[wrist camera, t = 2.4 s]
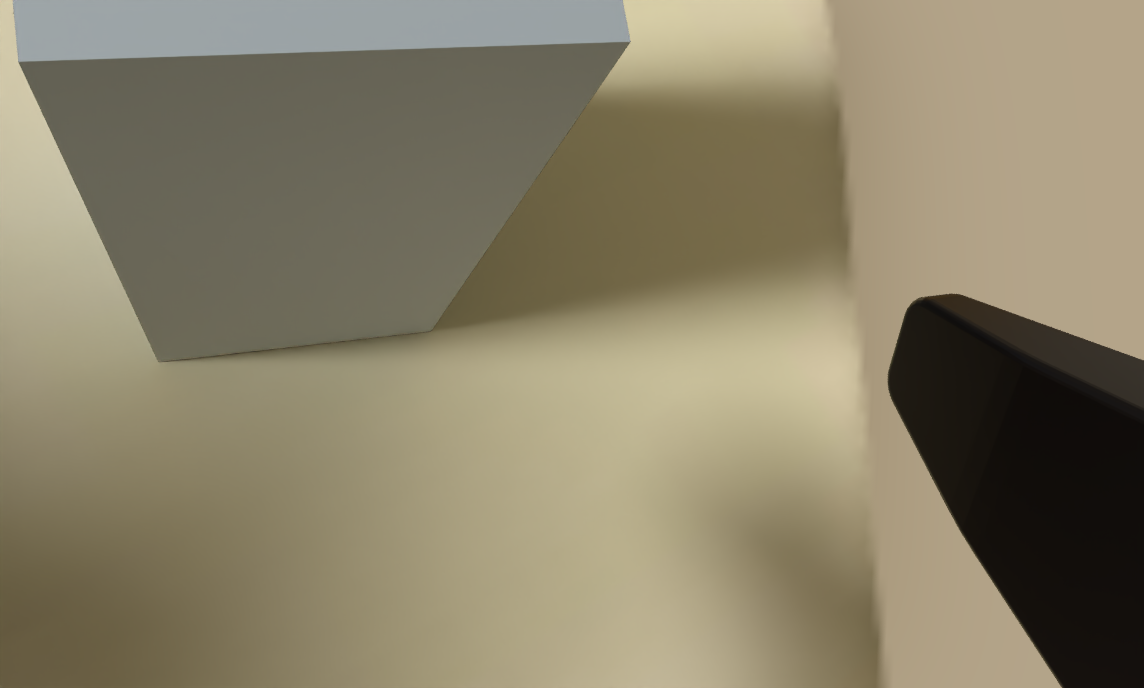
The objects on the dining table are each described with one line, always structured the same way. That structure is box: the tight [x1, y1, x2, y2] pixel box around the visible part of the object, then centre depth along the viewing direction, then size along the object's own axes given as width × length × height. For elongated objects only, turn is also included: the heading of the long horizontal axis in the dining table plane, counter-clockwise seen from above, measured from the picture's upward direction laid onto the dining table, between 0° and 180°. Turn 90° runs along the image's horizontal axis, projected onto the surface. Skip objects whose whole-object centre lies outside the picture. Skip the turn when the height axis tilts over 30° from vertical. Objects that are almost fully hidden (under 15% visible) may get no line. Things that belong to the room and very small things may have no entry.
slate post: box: [13, 0, 631, 362], centre depth 15 cm, size 5×5×12 cm
